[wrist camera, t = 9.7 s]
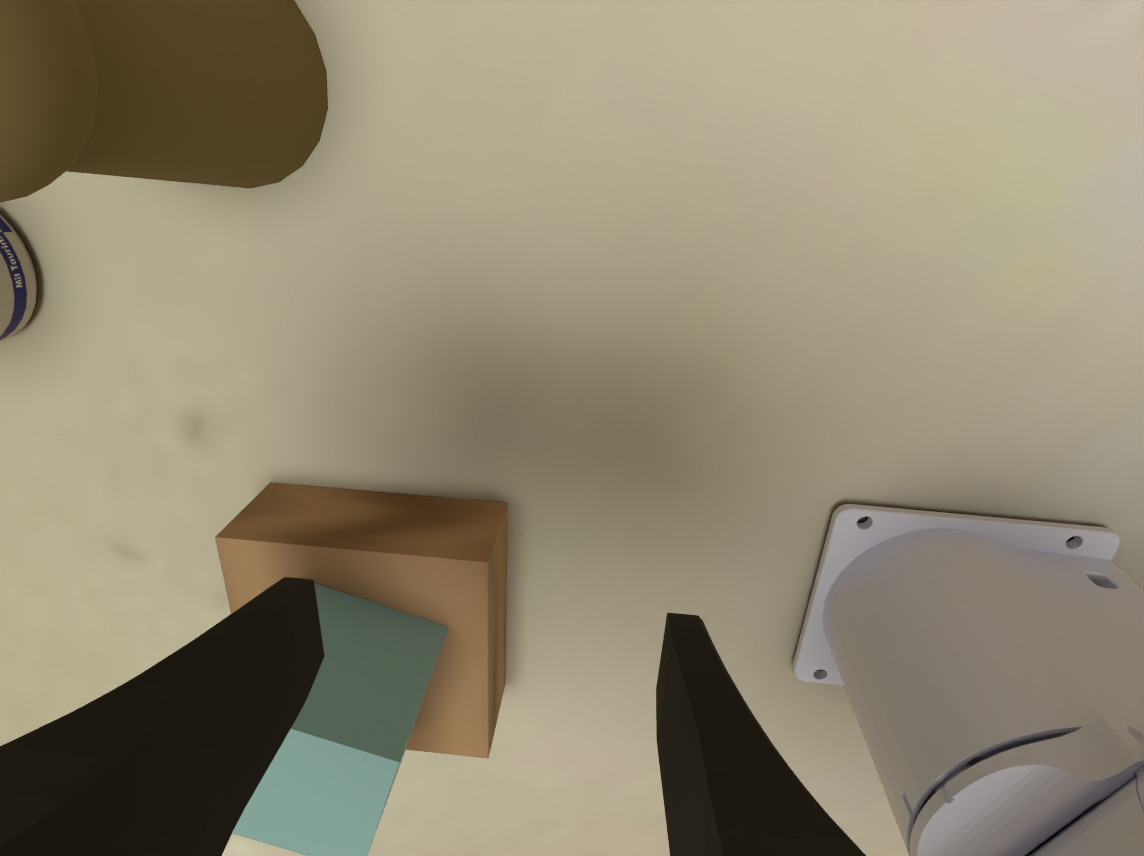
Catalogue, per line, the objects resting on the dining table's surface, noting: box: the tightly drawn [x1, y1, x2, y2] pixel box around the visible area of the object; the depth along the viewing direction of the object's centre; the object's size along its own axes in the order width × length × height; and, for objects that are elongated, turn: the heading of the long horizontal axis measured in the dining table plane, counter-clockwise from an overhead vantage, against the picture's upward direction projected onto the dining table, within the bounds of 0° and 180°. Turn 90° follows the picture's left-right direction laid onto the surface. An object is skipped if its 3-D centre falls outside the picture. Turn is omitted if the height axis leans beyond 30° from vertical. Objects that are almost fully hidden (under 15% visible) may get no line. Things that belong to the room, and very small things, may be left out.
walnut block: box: [215, 482, 507, 758], centre depth 25 cm, size 9×9×4 cm
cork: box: [0, 0, 328, 202], centre depth 14 cm, size 6×6×11 cm
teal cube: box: [232, 583, 448, 856], centre depth 21 cm, size 5×5×5 cm
